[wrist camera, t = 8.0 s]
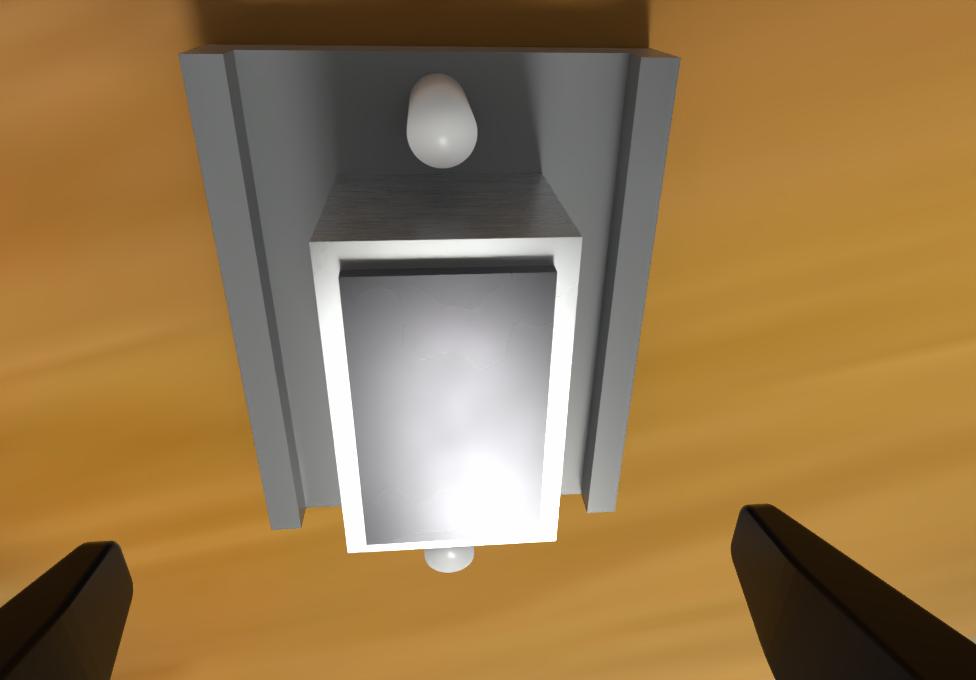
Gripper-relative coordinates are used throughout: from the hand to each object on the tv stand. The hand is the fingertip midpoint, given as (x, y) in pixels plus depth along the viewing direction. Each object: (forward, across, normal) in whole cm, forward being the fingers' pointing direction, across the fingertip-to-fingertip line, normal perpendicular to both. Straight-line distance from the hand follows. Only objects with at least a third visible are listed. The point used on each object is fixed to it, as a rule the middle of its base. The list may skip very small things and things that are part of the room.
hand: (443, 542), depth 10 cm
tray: (+9, 0, 0) cm, 9 cm away
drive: (+8, 0, 0) cm, 8 cm away
